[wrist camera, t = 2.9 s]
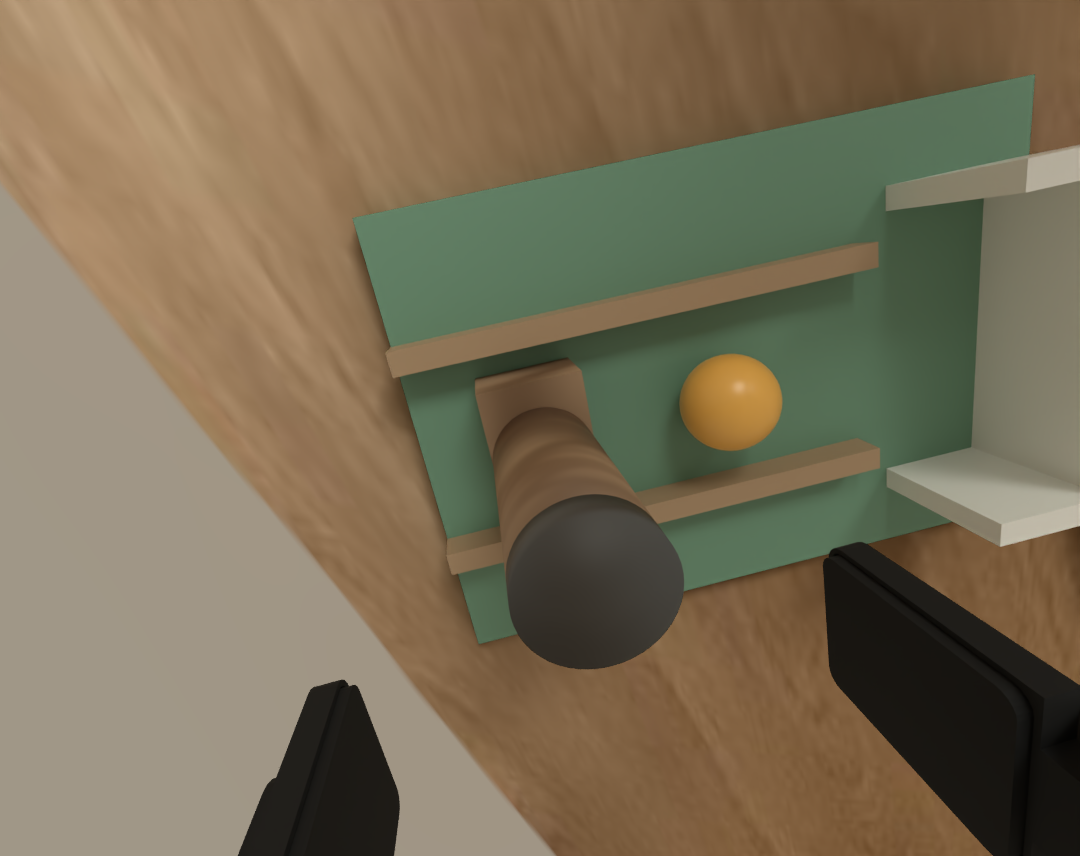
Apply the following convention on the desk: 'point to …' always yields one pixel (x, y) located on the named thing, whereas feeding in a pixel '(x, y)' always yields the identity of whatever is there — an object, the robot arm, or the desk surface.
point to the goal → (1014, 353)
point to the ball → (730, 402)
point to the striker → (572, 525)
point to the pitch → (709, 326)
